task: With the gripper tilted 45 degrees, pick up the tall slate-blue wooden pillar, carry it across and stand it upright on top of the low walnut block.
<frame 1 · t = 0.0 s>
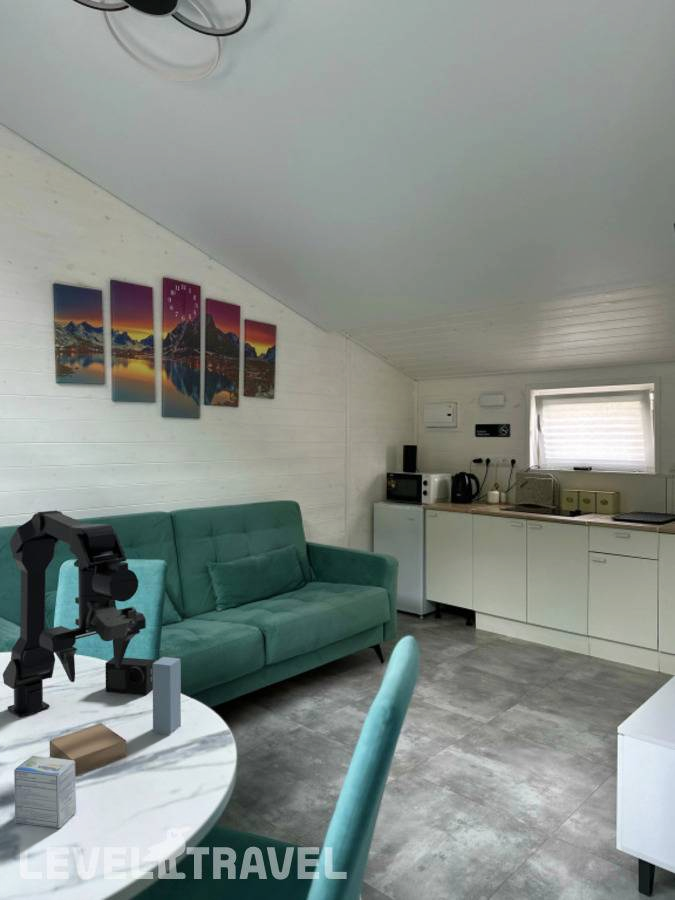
hand: (95, 674, 120), 15 cm above the table, tool pointing down, fingers open, 9 cm apart
walnut block: (87, 756, 119), on the table
digital camera: (128, 692, 149), on the table
slate pillar: (167, 729, 130), on the table
medicine box: (45, 819, 100), on the table
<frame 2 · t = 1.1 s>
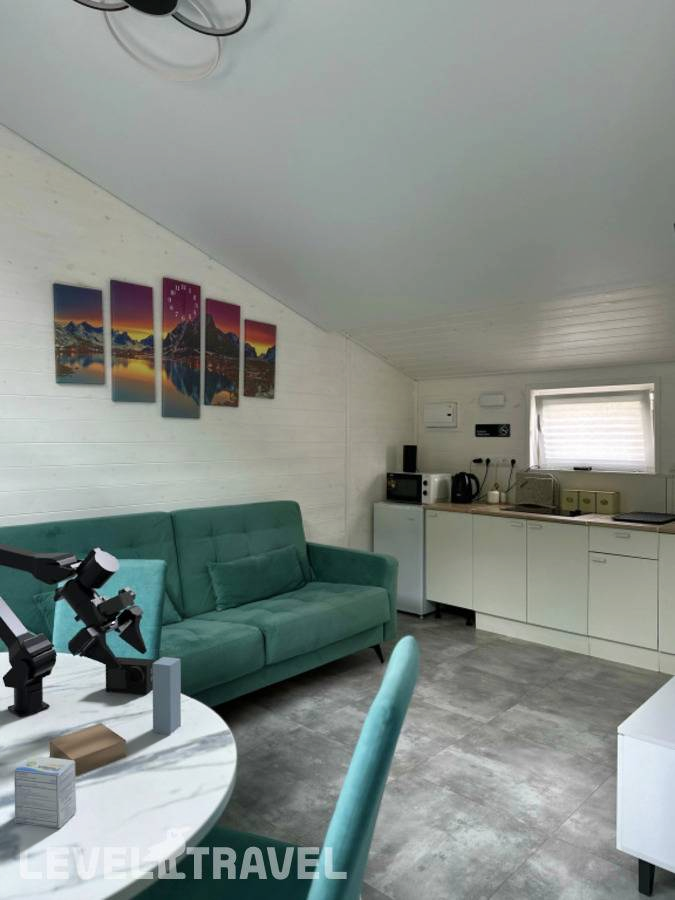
hand: (132, 660, 131), 13 cm above the table, tool tilted 45°, fingers open, 9 cm apart
nothing on the table moved.
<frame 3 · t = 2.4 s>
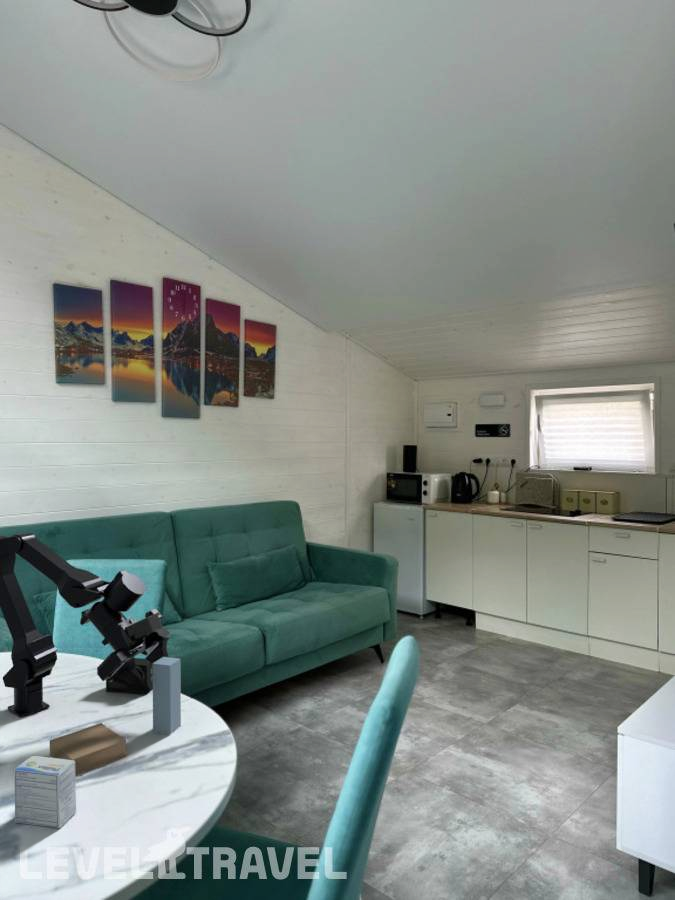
hand: (161, 683, 130), 9 cm above the table, tool tilted 45°, fingers open, 9 cm apart
nothing on the table moved.
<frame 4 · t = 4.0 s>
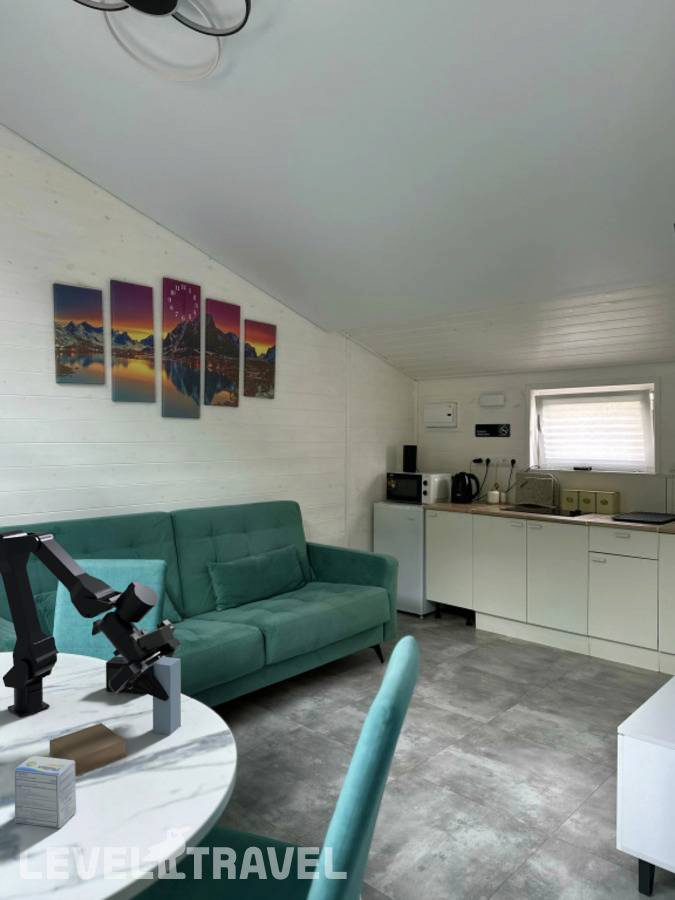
hand: (172, 695, 129), 7 cm above the table, tool tilted 45°, fingers closed on slate pillar, 4 cm apart
slate pillar: (167, 729, 130), on the table, touching gripper
everything else where it was.
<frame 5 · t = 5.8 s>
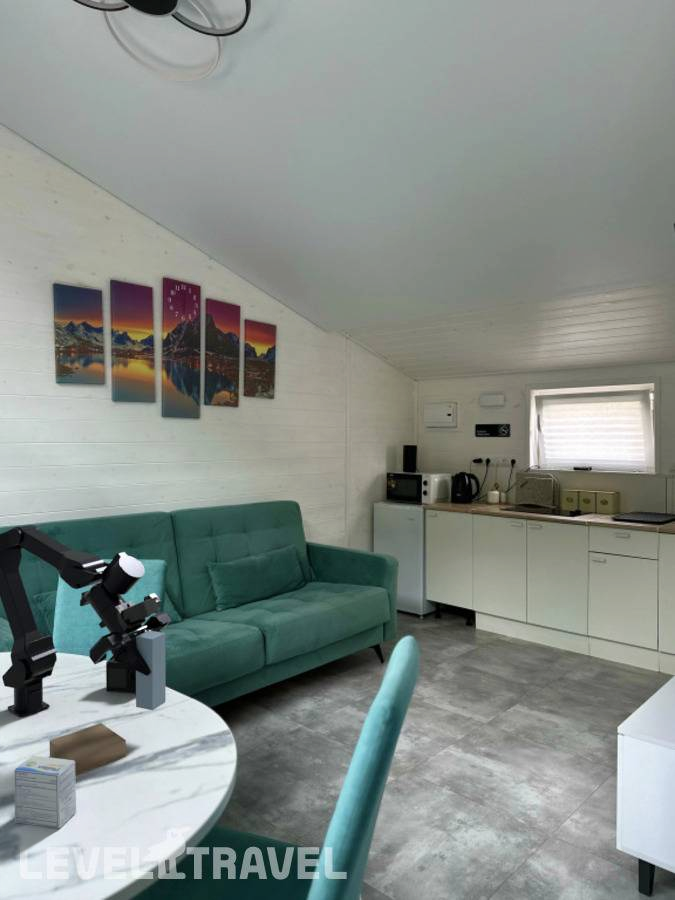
hand: (156, 670, 126), 13 cm above the table, tool tilted 45°, fingers closed on slate pillar, 4 cm apart
slate pillar: (150, 704, 126), point 6 cm above the table, touching gripper
everything else where it was.
when the fingers open (11 cm above the table, at t = 7.7 s): slate pillar stays where it is, resting on walnut block.
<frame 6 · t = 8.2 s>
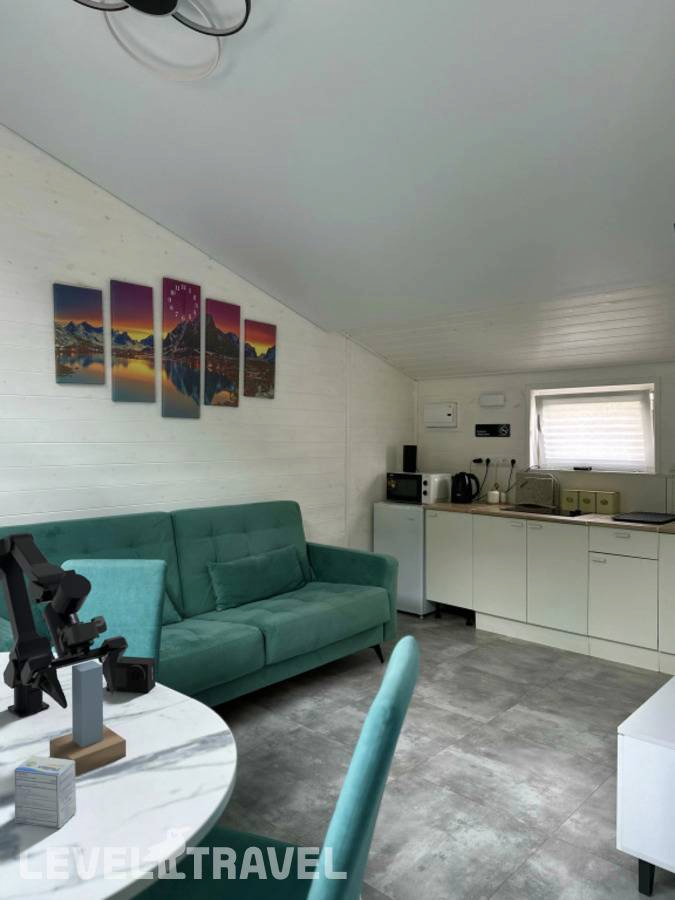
hand: (90, 699, 117), 11 cm above the table, tool tilted 45°, fingers open, 9 cm apart
slate pillar: (87, 740, 119), point 3 cm above the table, touching walnut block
everything else where it was.
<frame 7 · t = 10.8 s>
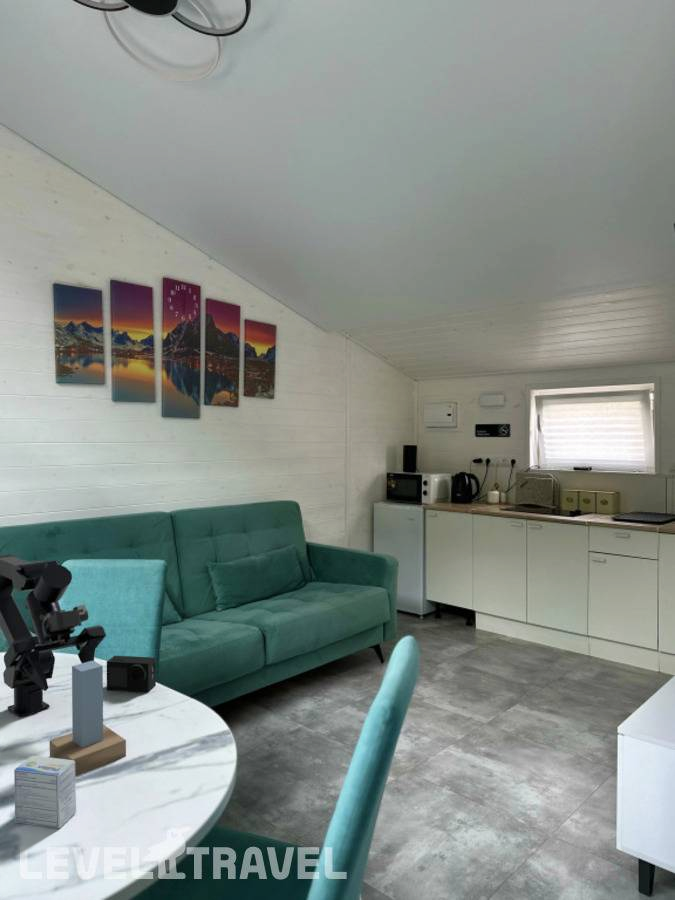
hand: (69, 683, 124), 11 cm above the table, tool tilted 45°, fingers open, 9 cm apart
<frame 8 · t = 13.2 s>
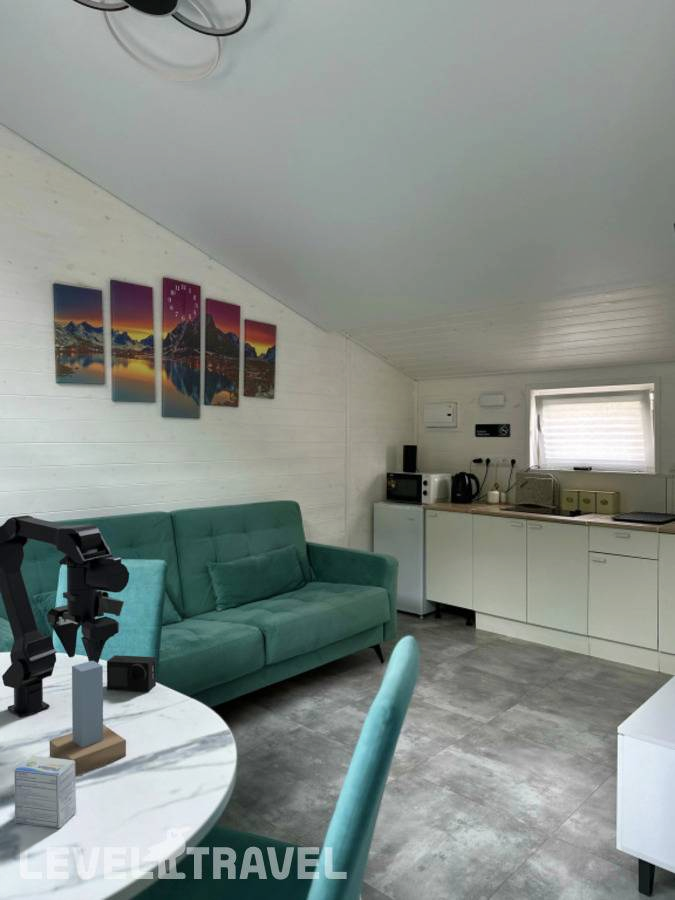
hand: (82, 662, 131), 13 cm above the table, tool pointing down, fingers open, 9 cm apart
at the end: slate pillar 0.0 cm off-centre on the walnut block, point 3.0 cm above the walnut block's base; slate pillar tilted 0°; the gripper is holding nothing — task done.
